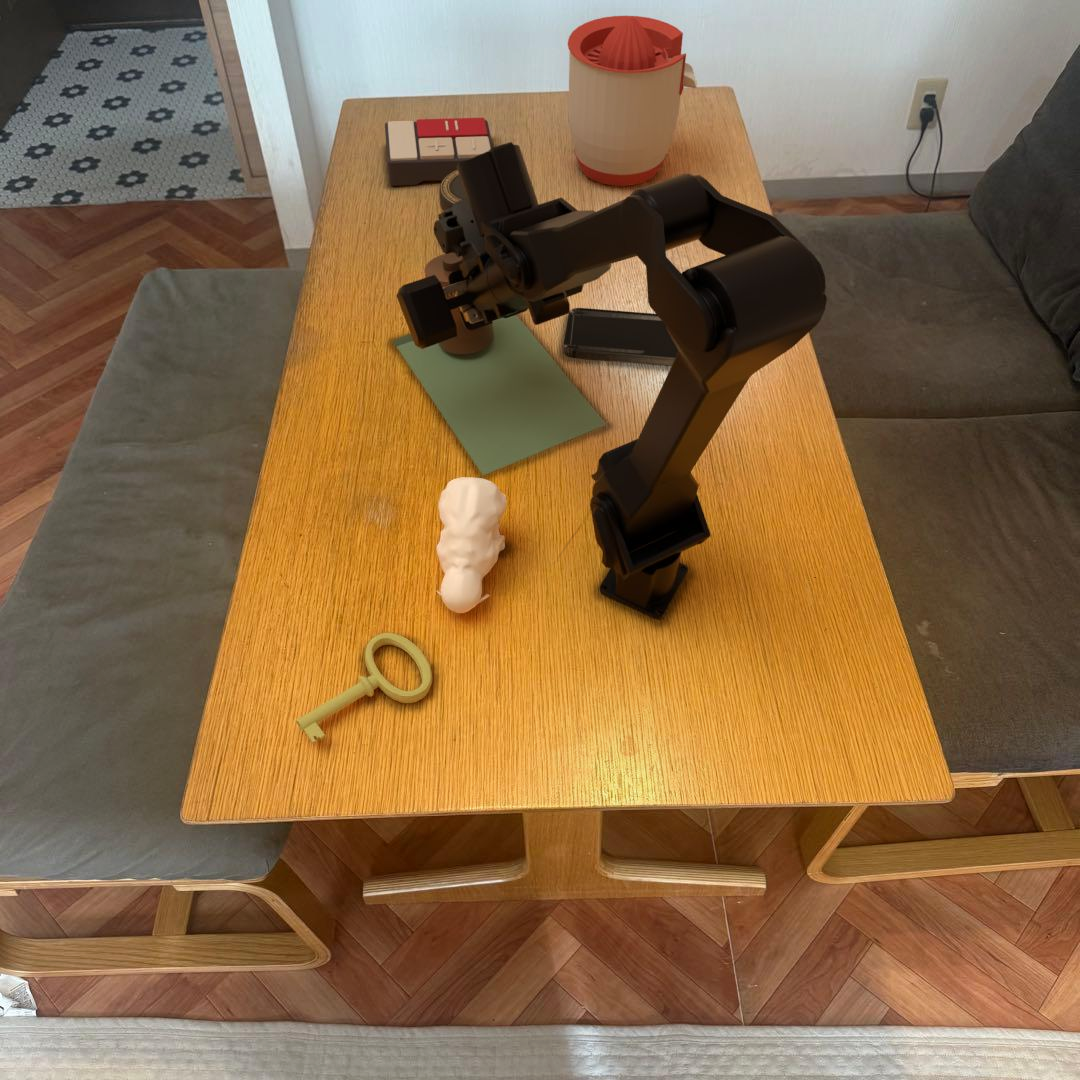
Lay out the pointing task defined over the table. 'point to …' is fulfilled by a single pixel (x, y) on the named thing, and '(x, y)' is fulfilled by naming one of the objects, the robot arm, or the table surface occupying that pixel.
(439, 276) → the battery
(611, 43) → the citrus juicer
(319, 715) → the key
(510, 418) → the placemat
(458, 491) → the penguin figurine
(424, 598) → the table surface
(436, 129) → the button control box
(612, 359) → the phone
